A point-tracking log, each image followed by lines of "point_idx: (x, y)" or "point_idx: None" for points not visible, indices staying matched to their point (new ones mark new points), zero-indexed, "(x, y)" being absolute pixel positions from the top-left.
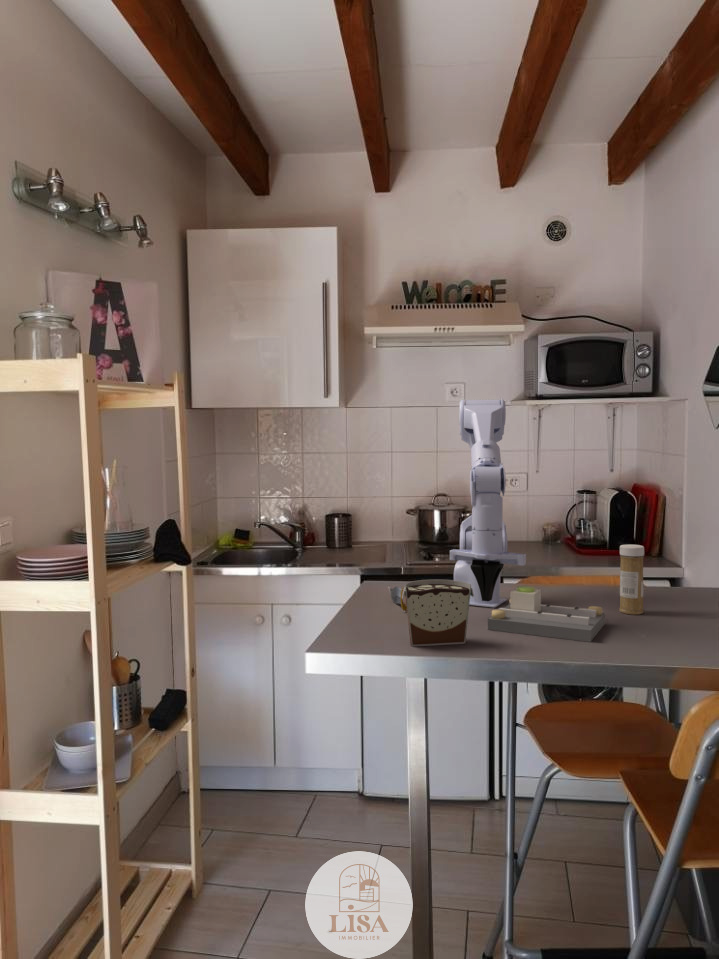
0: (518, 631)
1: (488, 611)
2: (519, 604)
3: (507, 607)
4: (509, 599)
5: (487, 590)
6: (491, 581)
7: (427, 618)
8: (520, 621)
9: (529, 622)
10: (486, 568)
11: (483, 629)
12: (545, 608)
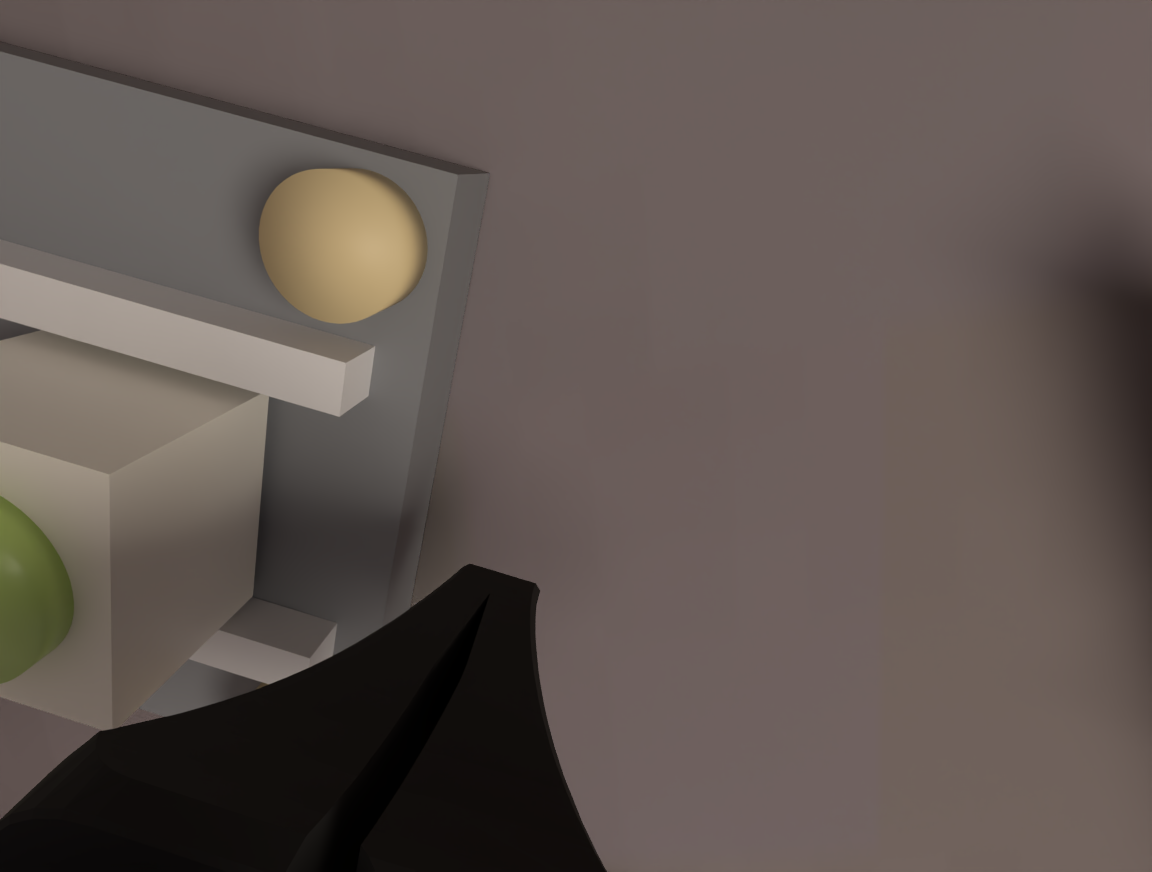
0: (205, 98)
1: None
2: (112, 393)
3: None
4: None
5: (432, 615)
6: (315, 667)
7: None
8: (133, 127)
9: (47, 102)
10: (246, 801)
11: (530, 178)
12: None
